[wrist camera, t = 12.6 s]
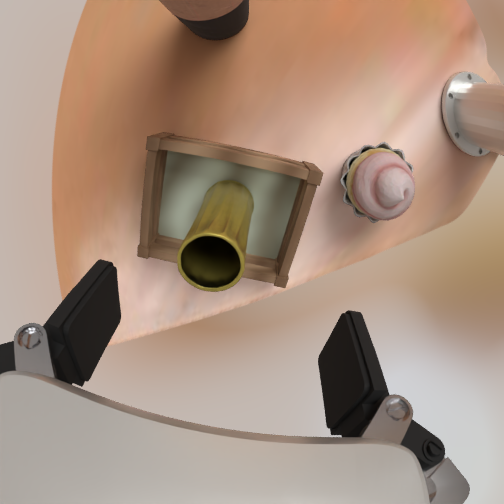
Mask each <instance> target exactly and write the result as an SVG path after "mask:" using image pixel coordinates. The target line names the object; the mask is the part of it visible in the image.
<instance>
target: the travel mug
mask: <svg viewBox="0 0 504 504" xmlns="http://www.w3.org/2000/svg"><path fill="white" fill-rule="evenodd" d="M159 1H160V2H161V3H162V4H163V5H164V6H165V7H166V8H167V9H168V10H169V11H170V12H171V13H172V14H173V15H175V16H176V17H177V18H178V19H179V20H180V21H181V22H182V23H183V24H185V25H186V26H187V27H188V28H189V29H190V30H191V31H192V32H193V33H195V34H196V35H198V36H199V37H202V38H204V39H208V40H221V39H226V38H229V37H231V36H233V35H235V34H237V33H238V32H239V31H240V30H241V29H242V28H243V27H244V26H245V24H246V22H247V20H248V15H249V0H159Z"/></svg>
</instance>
